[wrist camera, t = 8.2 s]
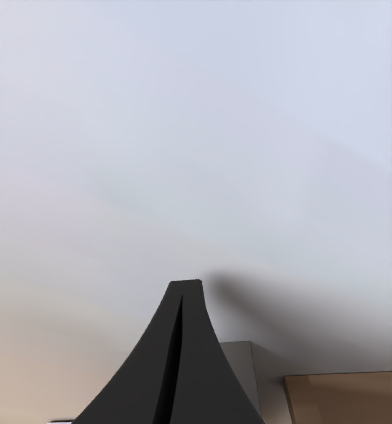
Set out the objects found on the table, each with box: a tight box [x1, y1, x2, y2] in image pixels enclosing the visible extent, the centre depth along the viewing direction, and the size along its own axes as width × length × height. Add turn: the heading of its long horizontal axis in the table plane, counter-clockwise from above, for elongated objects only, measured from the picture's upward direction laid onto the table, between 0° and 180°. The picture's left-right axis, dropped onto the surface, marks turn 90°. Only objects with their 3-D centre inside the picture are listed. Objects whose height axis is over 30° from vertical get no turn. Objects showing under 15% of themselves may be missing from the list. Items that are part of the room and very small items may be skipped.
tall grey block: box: [219, 341, 261, 417], centre depth 18 cm, size 10×5×4 cm, turn 7°
